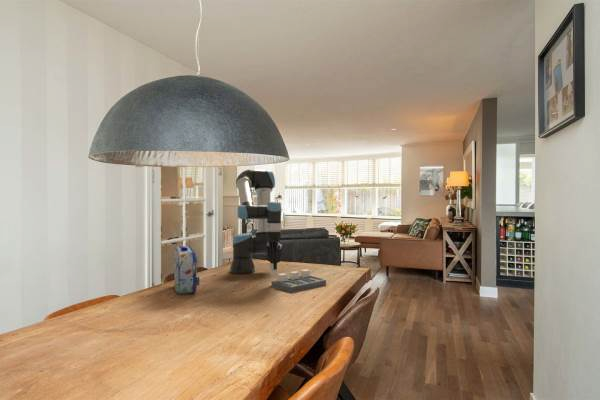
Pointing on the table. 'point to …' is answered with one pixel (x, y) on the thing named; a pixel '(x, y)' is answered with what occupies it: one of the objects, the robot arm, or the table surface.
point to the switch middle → (294, 275)
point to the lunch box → (185, 270)
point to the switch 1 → (282, 277)
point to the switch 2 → (305, 273)
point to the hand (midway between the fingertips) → (273, 275)
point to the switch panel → (299, 283)
